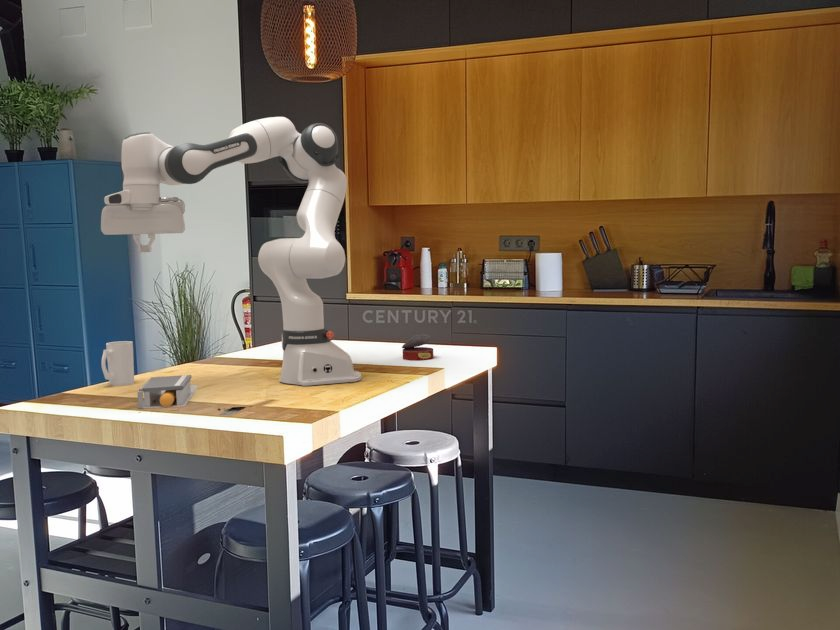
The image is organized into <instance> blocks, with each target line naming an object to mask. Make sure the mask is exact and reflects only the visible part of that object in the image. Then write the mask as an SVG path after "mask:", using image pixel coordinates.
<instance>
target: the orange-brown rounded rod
mask: <svg viewBox="0 0 840 630" xmlns="http://www.w3.org/2000/svg"><path fill="white" fill-rule="evenodd" d="M175 399H176V390H166V391H165V392H164V394H163V395H162V396H161V397H160V404H161V405H162V406H164V407H163V408H170V407H169V406H170V405H172V403H173V402H174V400H175Z"/></svg>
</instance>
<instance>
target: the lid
mask: <svg viewBox="0 0 840 630" xmlns="http://www.w3.org/2000/svg"><path fill="white" fill-rule="evenodd" d="M192 377H193V376H192V374H184V375H181V374H180V375H169V376H168V375H167V376H155V377H152V376H151V377H150V378H149V379H148V380H147V381H146V382H145V383H144V384H143V385H142V386H141V387H140V388H139V389H138V391H143V393H144V392H149V391H164V390H179V389H184V388H185V386H186V385H187V384H188V382H189V381H190V382H191V379H192Z"/></svg>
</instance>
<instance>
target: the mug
mask: <svg viewBox="0 0 840 630" xmlns="http://www.w3.org/2000/svg"><path fill="white" fill-rule="evenodd" d="M133 343H134V342H133V341H128V340H124V341H123V340H122V341H121V340H119V341H111V342H106V344H105V346H106V347H105V348H106V349H103V352H102V356H101V361H100V362H101V365H100V367H101V369H102V373H103V376H104V379H105V380H108V382H109V384H108V385H110V386H116V387H117V386H127V385H128V386H129V385H132V384H134V383H135V369H134V364H135V361H134V344H133ZM106 361H107V362H106ZM106 363H107V365H106Z"/></svg>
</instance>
